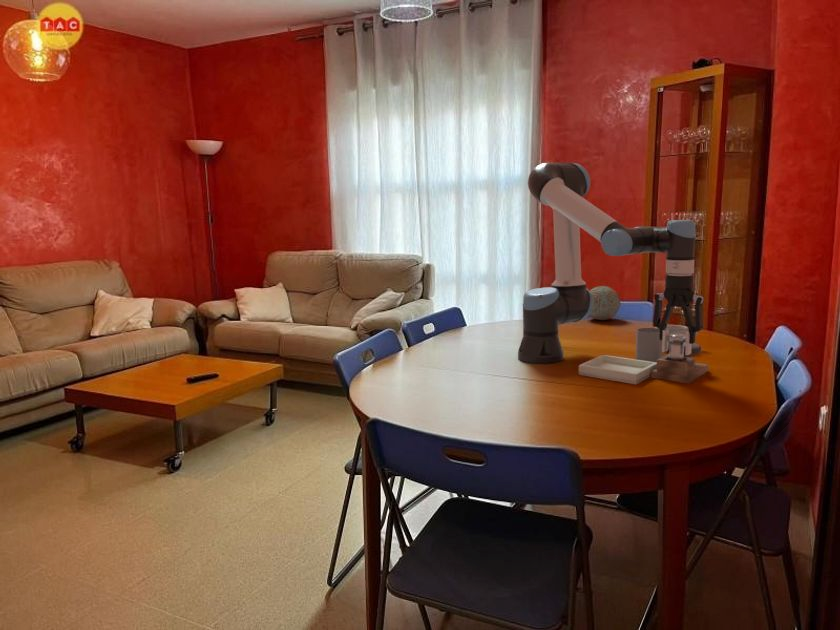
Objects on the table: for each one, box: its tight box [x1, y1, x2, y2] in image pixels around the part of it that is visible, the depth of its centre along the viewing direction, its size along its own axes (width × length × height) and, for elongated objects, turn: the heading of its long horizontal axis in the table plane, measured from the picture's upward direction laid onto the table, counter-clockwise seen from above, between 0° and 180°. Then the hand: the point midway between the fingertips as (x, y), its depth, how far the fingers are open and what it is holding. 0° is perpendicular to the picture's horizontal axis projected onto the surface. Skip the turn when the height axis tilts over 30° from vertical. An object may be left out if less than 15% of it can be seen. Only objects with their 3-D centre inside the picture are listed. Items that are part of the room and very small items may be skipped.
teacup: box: [654, 324, 698, 351], centre depth 221 cm, size 14×11×8 cm
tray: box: [578, 354, 657, 385], centre depth 193 cm, size 18×16×3 cm
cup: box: [635, 327, 664, 362], centre depth 207 cm, size 8×8×10 cm
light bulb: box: [667, 334, 686, 362], centre depth 186 cm, size 5×5×10 cm
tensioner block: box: [650, 343, 709, 384], centre depth 190 cm, size 11×17×8 cm, turn 138°
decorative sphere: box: [589, 285, 621, 321], centre depth 276 cm, size 15×15×15 cm
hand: (676, 352), depth 186 cm, fingers open, 6 cm apart
